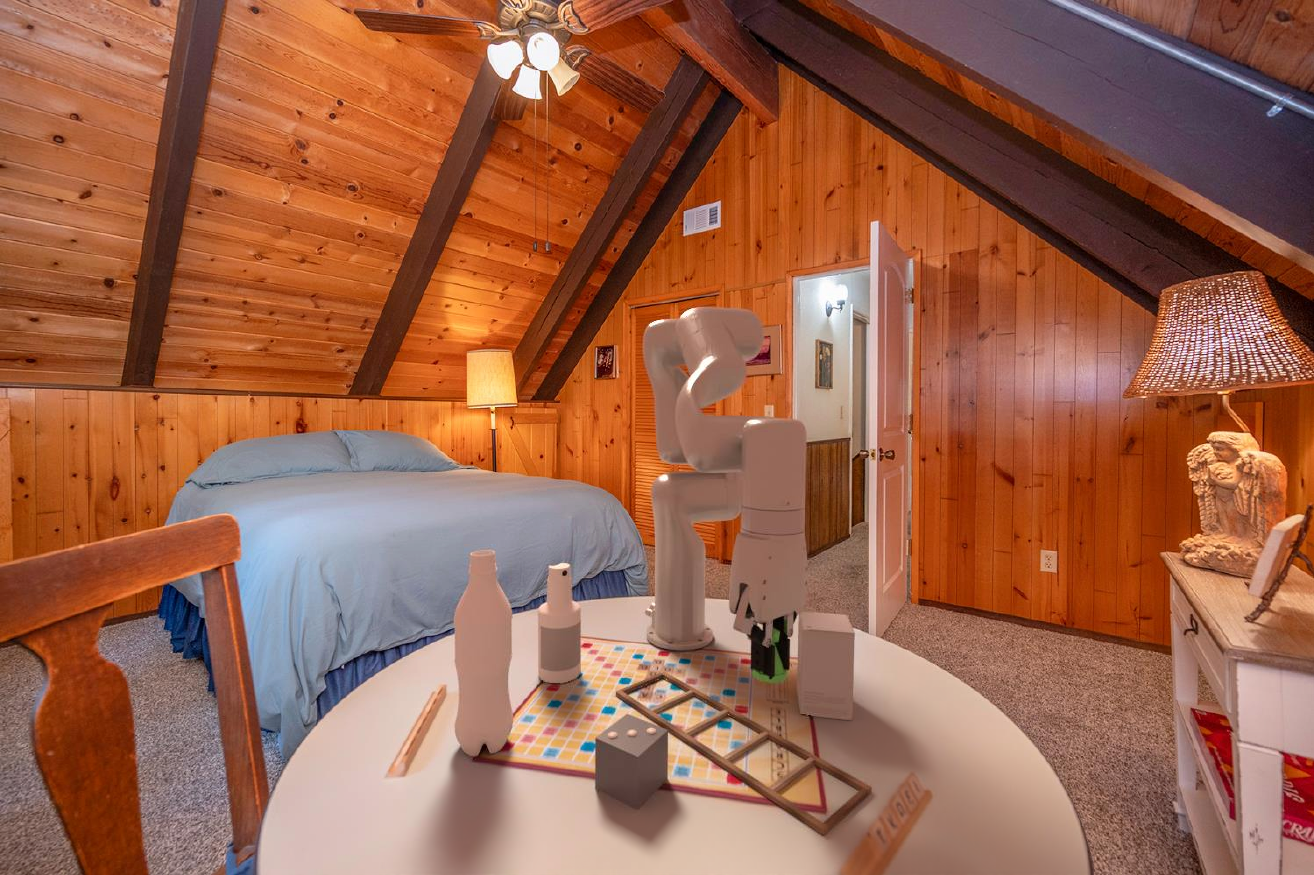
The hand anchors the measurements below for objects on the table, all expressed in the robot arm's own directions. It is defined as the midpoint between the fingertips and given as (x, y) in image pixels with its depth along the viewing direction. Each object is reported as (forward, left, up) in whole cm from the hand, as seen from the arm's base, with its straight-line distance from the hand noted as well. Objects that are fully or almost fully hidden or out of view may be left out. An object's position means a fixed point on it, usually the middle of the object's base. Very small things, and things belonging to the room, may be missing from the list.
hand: (770, 669), depth 66 cm
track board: (-7, 0, -12) cm, 14 cm away
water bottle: (-26, -25, -12) cm, 38 cm away
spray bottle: (-36, -8, -12) cm, 39 cm away
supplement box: (-3, +17, -12) cm, 21 cm away
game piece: (0, 0, -1) cm, 1 cm away
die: (-8, -15, -12) cm, 21 cm away
